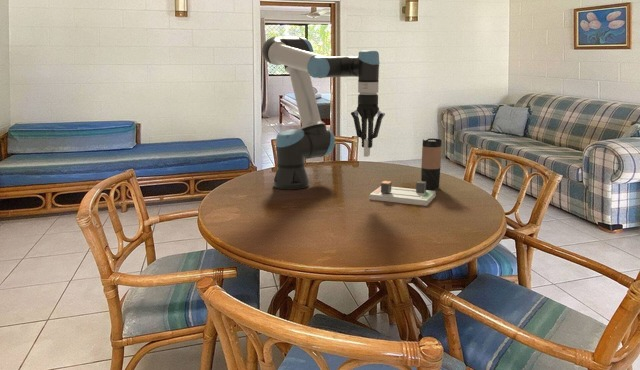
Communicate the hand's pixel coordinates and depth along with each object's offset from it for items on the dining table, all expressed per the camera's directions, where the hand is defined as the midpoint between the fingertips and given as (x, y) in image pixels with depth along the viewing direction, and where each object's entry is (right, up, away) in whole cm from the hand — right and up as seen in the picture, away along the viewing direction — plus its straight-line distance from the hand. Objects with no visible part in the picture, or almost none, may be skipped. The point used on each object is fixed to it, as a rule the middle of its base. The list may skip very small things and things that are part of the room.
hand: (366, 155), depth 187 cm
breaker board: (+14, -16, 0) cm, 21 cm away
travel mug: (+28, -12, +14) cm, 34 cm away
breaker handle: (+7, -14, 0) cm, 16 cm away
